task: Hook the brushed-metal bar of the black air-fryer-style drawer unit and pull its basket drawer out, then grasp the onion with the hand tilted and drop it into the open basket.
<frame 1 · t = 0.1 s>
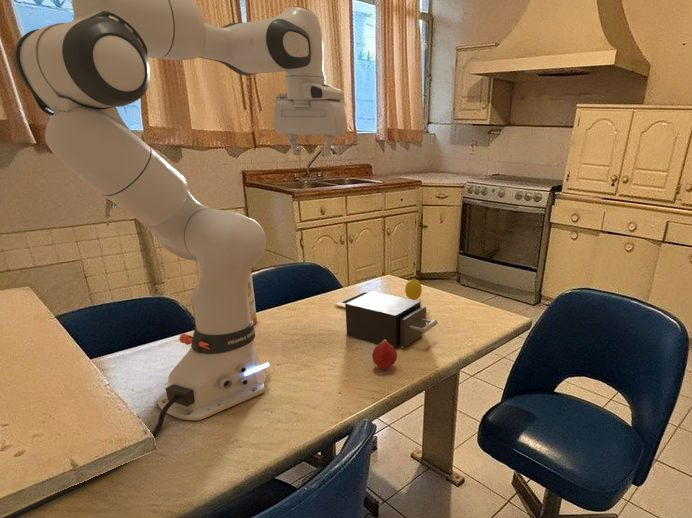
hand: (311, 155, 110), 48 cm above the table, tool pointing down, fingers open, 8 cm apart
lemon: (413, 301, 155), on the table
cabinet: (383, 334, 129), on the table
cracker box: (240, 331, 130), on the table
onion: (384, 370, 110), on the table
drawer: (399, 322, 125), point 5 cm above the table, slide at 1.0 cm
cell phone: (360, 301, 154), on the table
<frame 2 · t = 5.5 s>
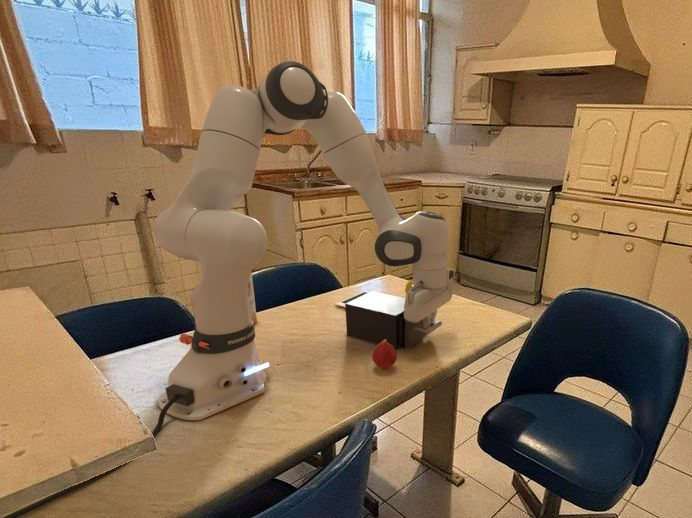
hand: (428, 326, 121), 6 cm above the table, tool pointing down, fingers closed
drawer: (403, 323, 124), point 5 cm above the table, slide at 2.3 cm, touching gripper
everything else where it was.
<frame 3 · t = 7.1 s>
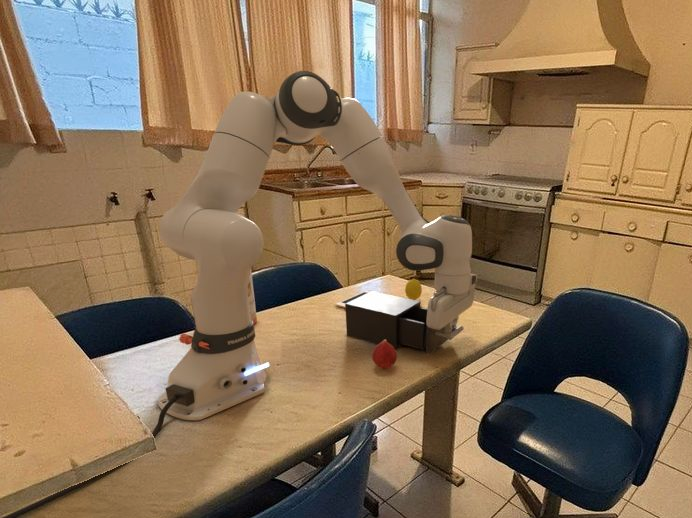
hand: (450, 333, 118), 5 cm above the table, tool pointing down, fingers closed, pressing on drawer
drawer: (423, 328, 122), point 5 cm above the table, slide at 8.7 cm, touching gripper
everything else where it was.
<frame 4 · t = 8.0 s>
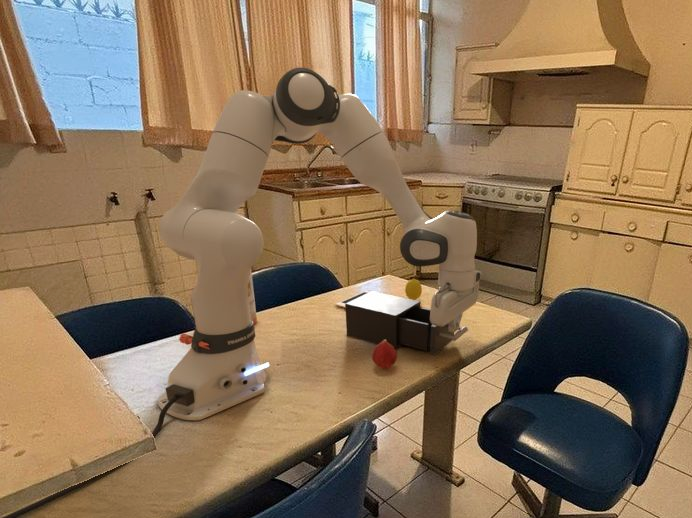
hand: (453, 330, 116), 6 cm above the table, tool pointing down, fingers closed
drawer: (427, 329, 121), point 5 cm above the table, slide at 9.9 cm
everything else where it was.
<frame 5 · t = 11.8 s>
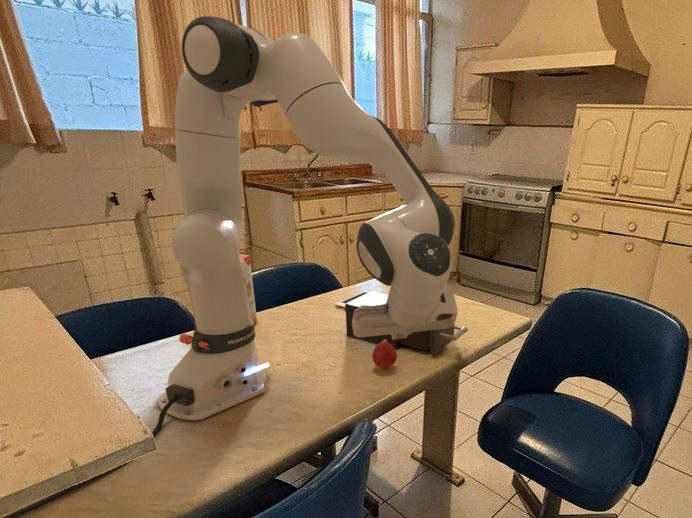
hand: (398, 335, 95), 14 cm above the table, tool tilted 40°, fingers closed
nothing on the table moved.
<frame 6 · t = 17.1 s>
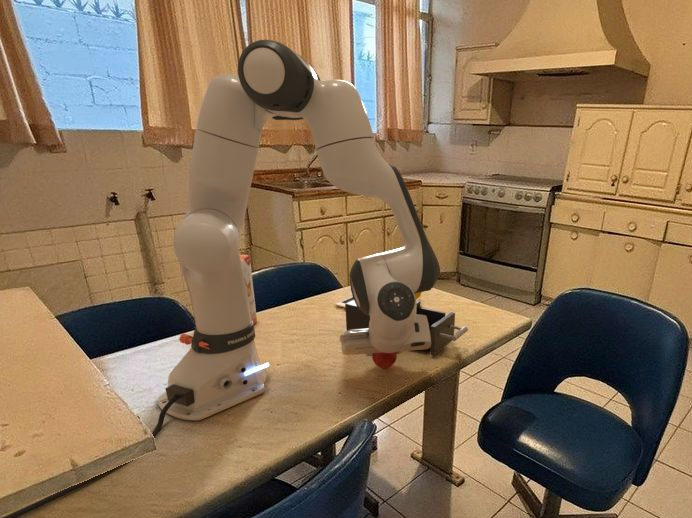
hand: (384, 351, 109), 4 cm above the table, tool tilted 45°, fingers closed on onion, 6 cm apart
onion: (384, 370, 110), on the table, touching gripper
everything else where it was.
when the fingers open (11 cm above the table, at t = 24.6 s): onion drops 4 cm, resting on drawer.
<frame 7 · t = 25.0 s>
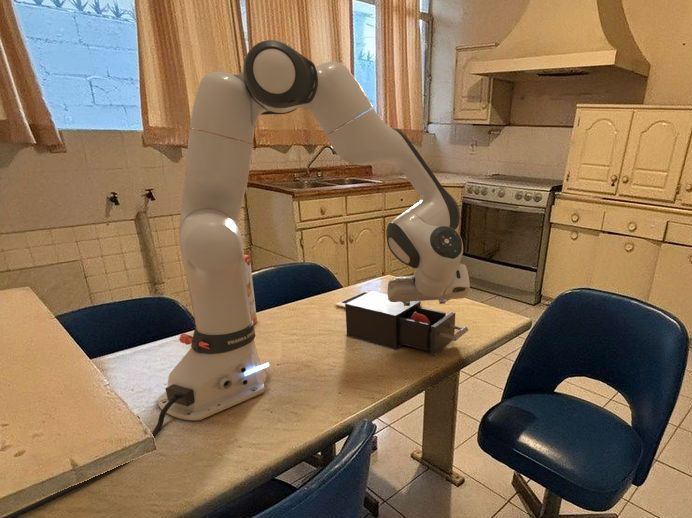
hand: (423, 302, 119), 12 cm above the table, tool tilted 45°, fingers open, 8 cm apart
onion: (423, 337, 122), point 2 cm above the table, touching drawer
drawer: (427, 329, 121), point 5 cm above the table, slide at 10.0 cm, touching onion
everything else where it was.
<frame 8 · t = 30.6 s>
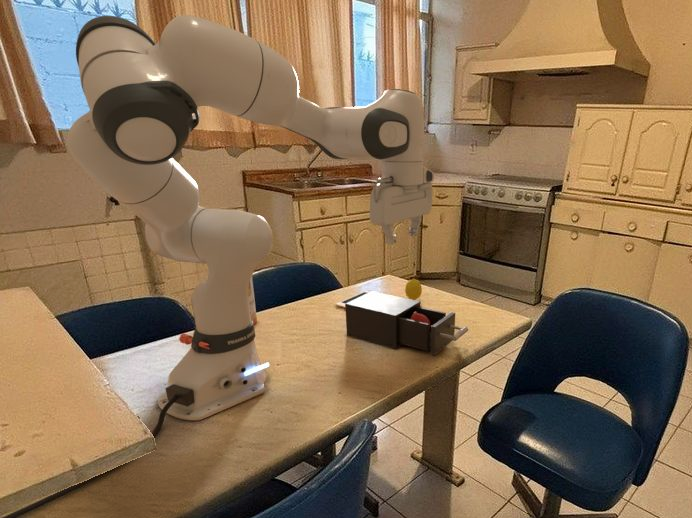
hand: (402, 239, 102), 31 cm above the table, tool pointing down, fingers open, 8 cm apart
nothing on the table moved.
at the end: drawer slide at 10.0 cm; onion inside the target area in the drawer (0.6 cm from its centre), point 2.2 cm above the cabinet's base; the gripper is holding nothing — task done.
